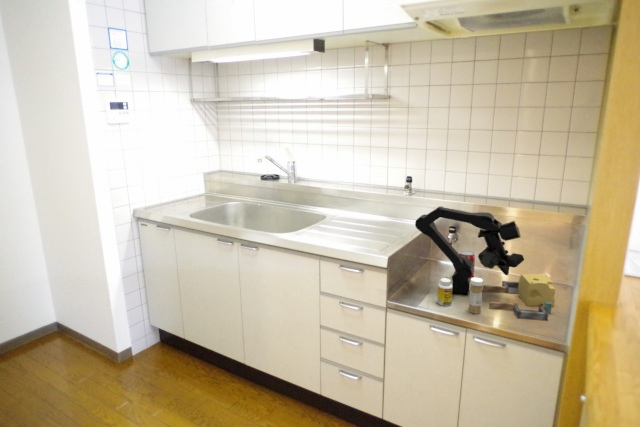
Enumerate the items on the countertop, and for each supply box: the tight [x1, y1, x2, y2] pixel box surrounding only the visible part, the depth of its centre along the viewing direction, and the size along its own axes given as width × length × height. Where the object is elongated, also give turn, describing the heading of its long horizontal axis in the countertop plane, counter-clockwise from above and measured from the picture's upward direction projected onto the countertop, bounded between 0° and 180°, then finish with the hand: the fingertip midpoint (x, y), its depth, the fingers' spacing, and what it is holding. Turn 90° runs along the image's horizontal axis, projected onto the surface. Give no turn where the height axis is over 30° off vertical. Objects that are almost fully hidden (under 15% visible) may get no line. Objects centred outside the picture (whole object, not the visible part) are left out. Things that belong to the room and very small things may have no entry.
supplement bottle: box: [436, 277, 453, 307], centre depth 170 cm, size 6×6×10 cm
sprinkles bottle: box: [468, 276, 484, 315], centre depth 162 cm, size 5×5×13 cm
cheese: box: [518, 273, 556, 308], centre depth 171 cm, size 10×11×10 cm
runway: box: [482, 280, 552, 321], centre depth 171 cm, size 22×29×4 cm
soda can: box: [458, 249, 476, 283], centre depth 193 cm, size 7×7×13 cm
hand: (506, 274), depth 174 cm, fingers closed
